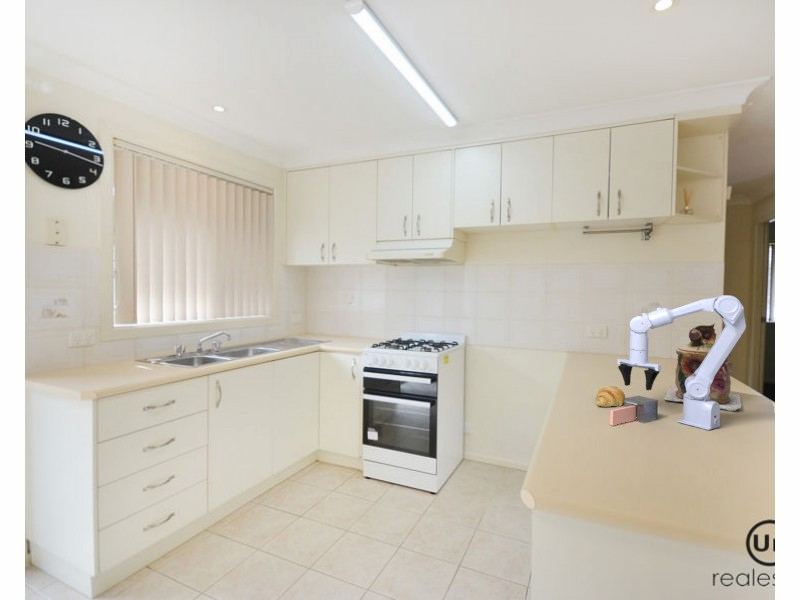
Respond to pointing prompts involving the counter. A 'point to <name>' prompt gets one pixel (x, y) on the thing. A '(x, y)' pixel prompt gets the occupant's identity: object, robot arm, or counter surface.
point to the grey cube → (643, 408)
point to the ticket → (623, 415)
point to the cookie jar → (692, 360)
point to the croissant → (610, 397)
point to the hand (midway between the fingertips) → (637, 387)
